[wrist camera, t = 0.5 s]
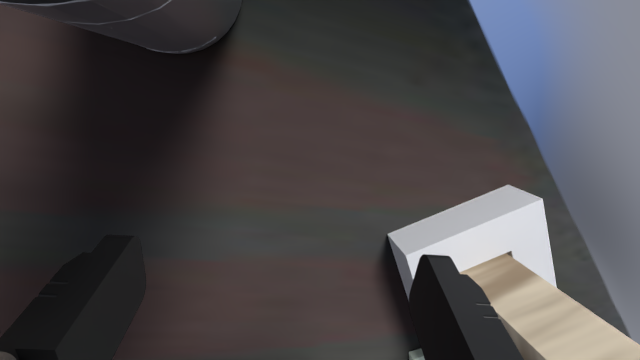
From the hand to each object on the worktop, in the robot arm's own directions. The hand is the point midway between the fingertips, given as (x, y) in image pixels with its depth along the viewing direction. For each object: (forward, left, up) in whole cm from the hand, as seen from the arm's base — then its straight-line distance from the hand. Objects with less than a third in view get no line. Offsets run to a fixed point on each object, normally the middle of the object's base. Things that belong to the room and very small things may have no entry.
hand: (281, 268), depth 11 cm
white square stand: (+14, +15, -18) cm, 27 cm away
